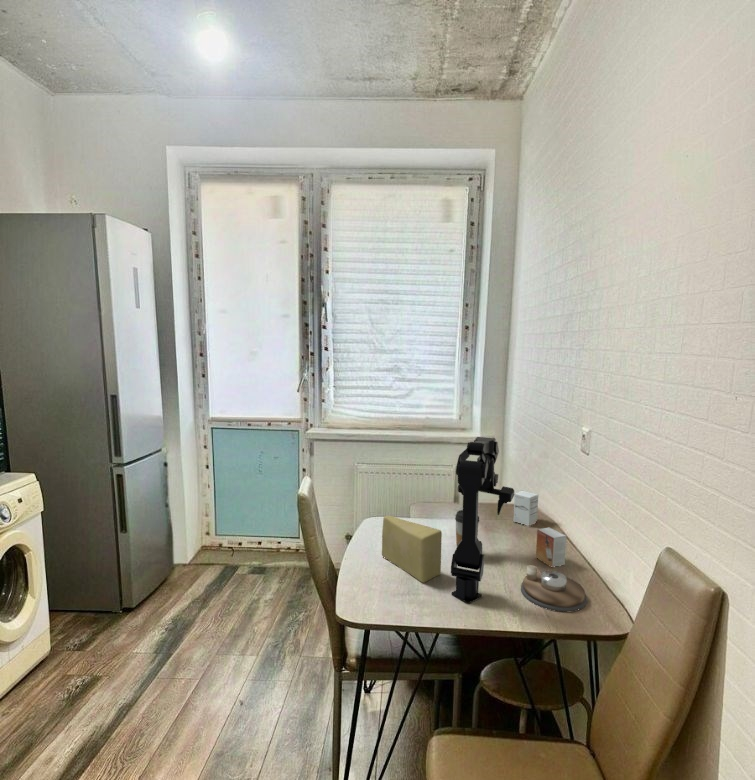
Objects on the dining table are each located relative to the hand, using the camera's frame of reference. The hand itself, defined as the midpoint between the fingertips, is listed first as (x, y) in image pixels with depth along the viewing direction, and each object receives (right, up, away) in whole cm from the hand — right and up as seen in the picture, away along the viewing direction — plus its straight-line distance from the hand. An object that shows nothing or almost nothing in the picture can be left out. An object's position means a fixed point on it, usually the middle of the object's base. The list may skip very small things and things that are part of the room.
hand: (485, 511), depth 158 cm
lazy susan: (+13, -16, -27) cm, 34 cm away
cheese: (-29, -16, -11) cm, 35 cm away
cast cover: (+13, -15, -27) cm, 33 cm away
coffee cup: (-7, -15, -1) cm, 17 cm away
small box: (+21, -16, -6) cm, 27 cm away
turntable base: (+13, -17, -27) cm, 34 cm away
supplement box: (+24, -13, +30) cm, 41 cm away
